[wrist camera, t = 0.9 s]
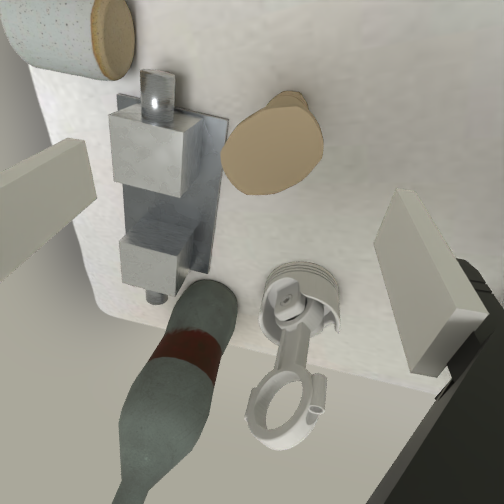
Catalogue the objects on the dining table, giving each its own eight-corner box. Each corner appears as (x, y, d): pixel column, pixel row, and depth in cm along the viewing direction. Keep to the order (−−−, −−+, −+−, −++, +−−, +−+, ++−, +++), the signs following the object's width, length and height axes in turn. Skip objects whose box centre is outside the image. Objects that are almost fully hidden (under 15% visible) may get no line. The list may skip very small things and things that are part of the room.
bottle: (180, 272, 47) (26, 531, 23) (241, 280, 46) (148, 565, 21) (185, 317, 52) (66, 566, 28) (240, 326, 51) (165, 594, 27)
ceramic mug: (141, 80, 33) (99, 90, 27) (66, 64, 33) (7, 70, 27) (137, -60, 27) (81, -91, 21) (46, -78, 27) (-37, -113, 21)
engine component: (352, 300, 44) (310, 249, 41) (370, 462, 27) (301, 399, 24) (288, 327, 49) (247, 284, 46) (271, 477, 33) (203, 427, 29)
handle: (331, 113, 31) (335, 165, 19) (274, 144, 34) (246, 207, 22) (309, 63, 29) (299, 87, 17) (250, 101, 32) (206, 144, 20)
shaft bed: (233, 82, 31) (215, 93, 26) (206, 289, 48) (192, 321, 42) (117, 55, 32) (75, 60, 27) (130, 269, 48) (106, 298, 43)
